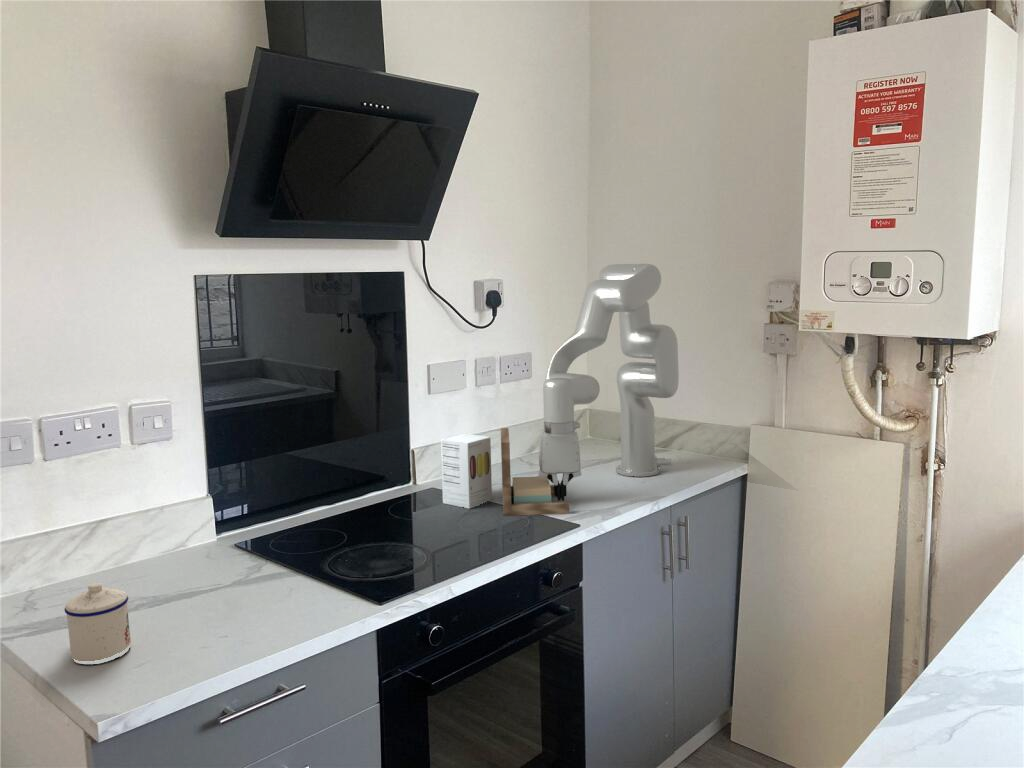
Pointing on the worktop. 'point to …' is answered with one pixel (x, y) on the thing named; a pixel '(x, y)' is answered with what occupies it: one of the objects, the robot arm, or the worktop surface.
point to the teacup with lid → (98, 623)
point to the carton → (531, 490)
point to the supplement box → (466, 470)
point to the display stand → (508, 489)
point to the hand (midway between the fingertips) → (560, 499)
